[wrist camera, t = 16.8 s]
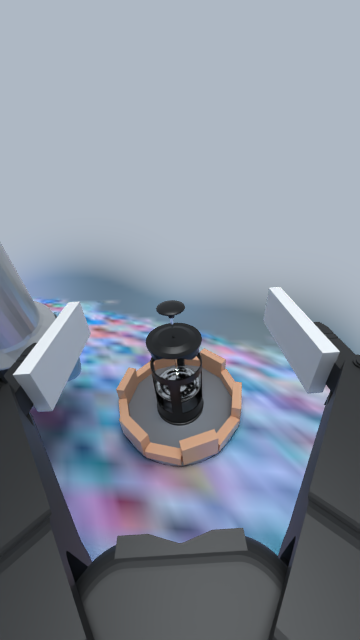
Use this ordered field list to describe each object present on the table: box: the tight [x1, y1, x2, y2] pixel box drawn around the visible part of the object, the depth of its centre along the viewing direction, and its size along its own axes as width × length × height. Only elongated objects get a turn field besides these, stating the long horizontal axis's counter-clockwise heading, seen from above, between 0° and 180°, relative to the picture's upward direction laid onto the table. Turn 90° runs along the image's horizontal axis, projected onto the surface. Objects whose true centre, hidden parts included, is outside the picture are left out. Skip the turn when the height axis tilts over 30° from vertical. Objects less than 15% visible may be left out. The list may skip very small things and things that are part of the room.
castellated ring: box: [116, 348, 242, 466], centre depth 45 cm, size 24×24×6 cm
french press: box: [146, 300, 204, 426], centre depth 40 cm, size 12×9×23 cm
